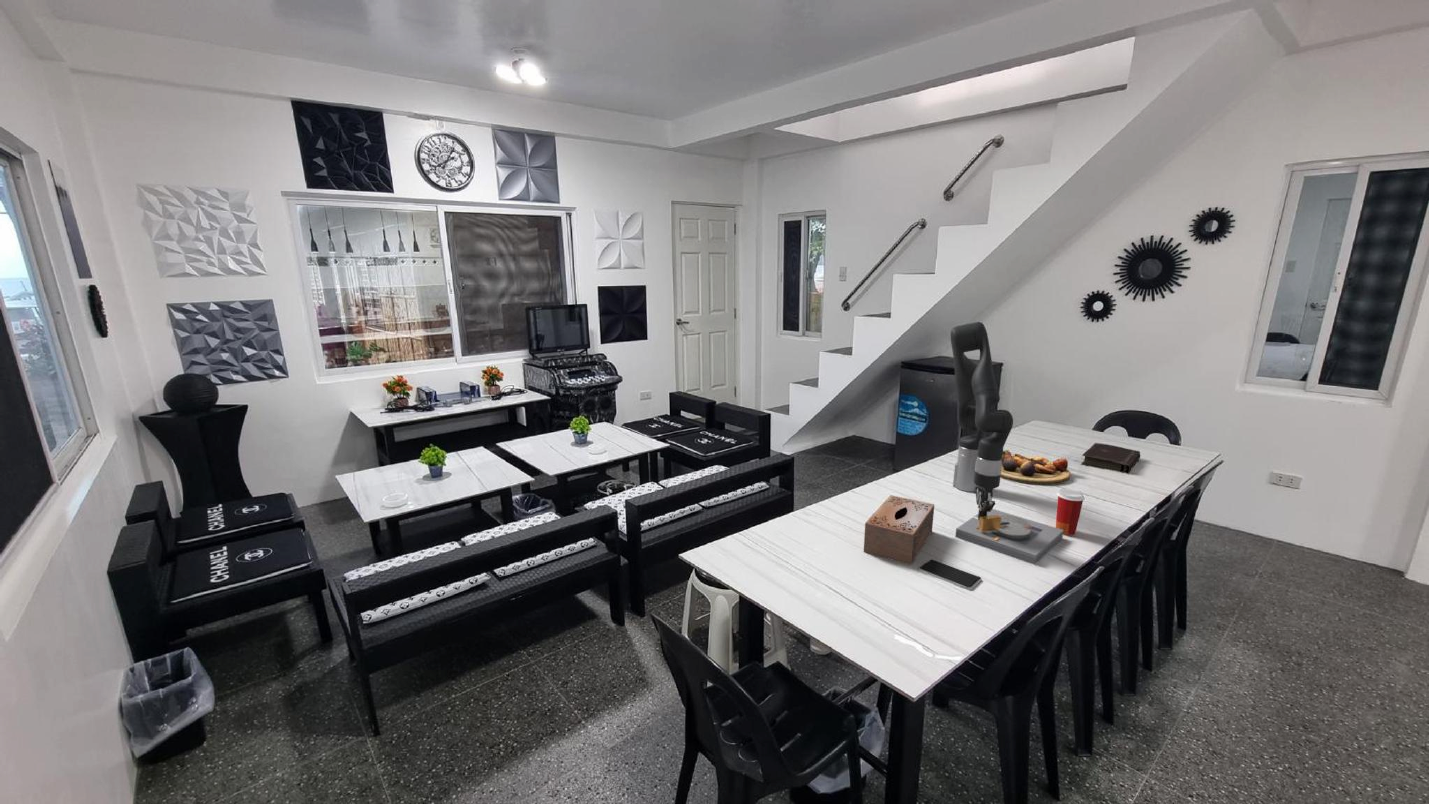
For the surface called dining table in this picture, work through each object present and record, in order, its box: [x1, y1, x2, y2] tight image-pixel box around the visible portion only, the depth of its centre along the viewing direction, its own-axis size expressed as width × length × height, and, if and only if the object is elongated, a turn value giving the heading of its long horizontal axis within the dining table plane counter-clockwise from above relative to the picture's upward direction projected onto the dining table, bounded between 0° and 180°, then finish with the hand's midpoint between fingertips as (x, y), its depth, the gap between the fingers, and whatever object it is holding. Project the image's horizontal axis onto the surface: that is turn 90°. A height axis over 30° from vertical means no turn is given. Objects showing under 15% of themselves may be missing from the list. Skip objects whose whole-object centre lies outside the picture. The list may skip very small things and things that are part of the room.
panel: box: [955, 508, 1064, 565], centre depth 184 cm, size 24×24×3 cm
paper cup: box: [1055, 488, 1086, 537], centre depth 186 cm, size 8×8×14 cm
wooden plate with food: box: [1000, 449, 1072, 486], centre depth 241 cm, size 32×32×8 cm
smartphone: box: [918, 559, 982, 591], centre depth 163 cm, size 8×1×15 cm
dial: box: [978, 515, 1032, 540], centre depth 182 cm, size 17×12×6 cm
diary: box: [1080, 442, 1141, 475], centre depth 252 cm, size 19×25×5 cm
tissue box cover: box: [863, 494, 935, 566], centre depth 181 cm, size 26×14×10 cm, turn 146°
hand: (981, 520), depth 184 cm, fingers closed
